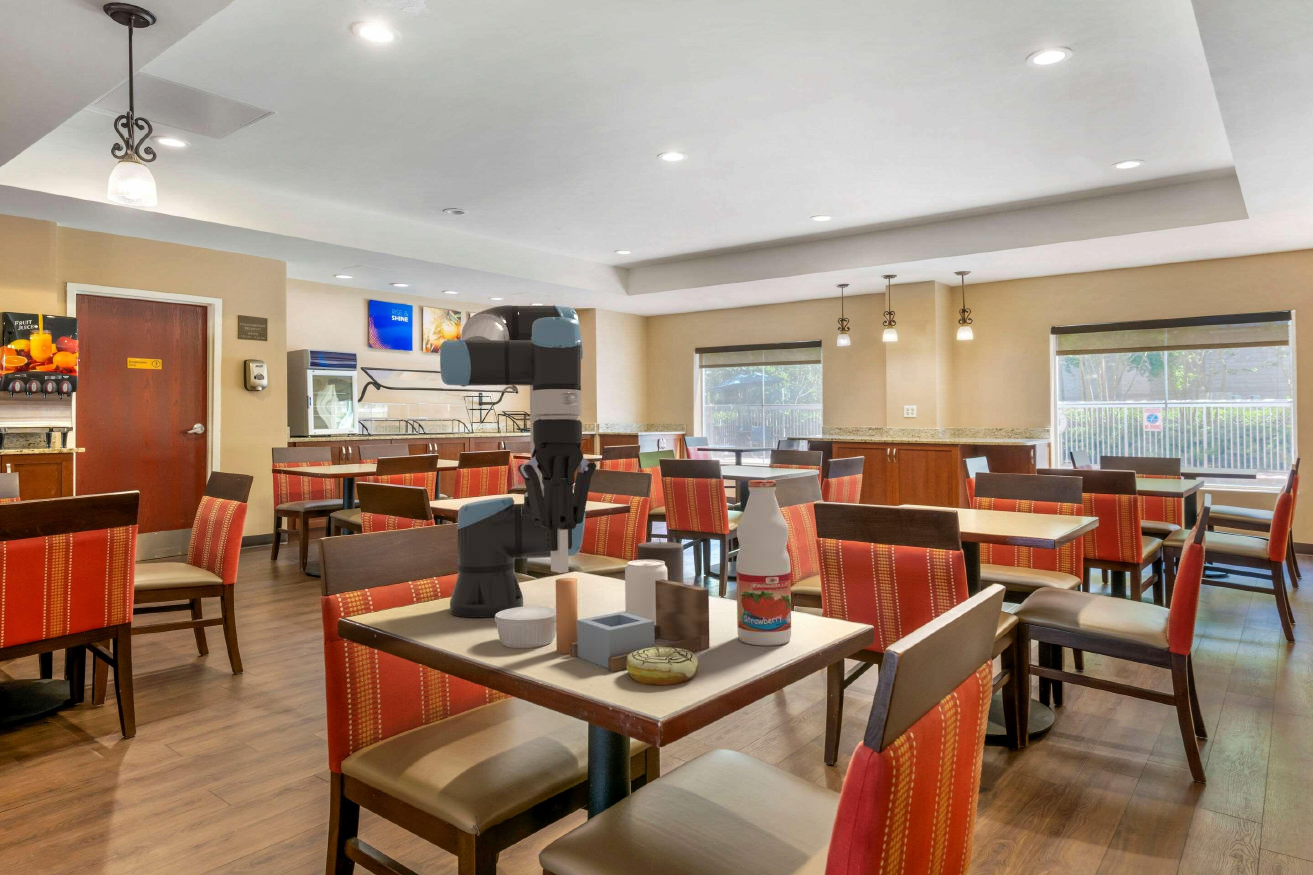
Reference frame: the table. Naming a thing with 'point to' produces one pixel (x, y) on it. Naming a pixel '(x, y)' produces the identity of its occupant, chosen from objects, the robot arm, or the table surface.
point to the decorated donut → (662, 665)
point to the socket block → (613, 636)
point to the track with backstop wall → (674, 620)
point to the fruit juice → (763, 569)
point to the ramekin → (526, 626)
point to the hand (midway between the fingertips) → (559, 571)
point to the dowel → (566, 614)
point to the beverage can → (643, 587)
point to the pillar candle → (664, 557)
